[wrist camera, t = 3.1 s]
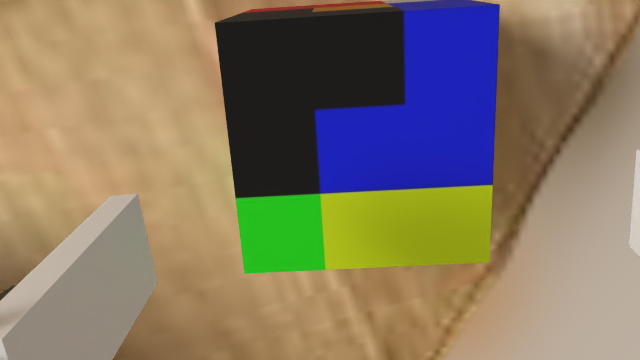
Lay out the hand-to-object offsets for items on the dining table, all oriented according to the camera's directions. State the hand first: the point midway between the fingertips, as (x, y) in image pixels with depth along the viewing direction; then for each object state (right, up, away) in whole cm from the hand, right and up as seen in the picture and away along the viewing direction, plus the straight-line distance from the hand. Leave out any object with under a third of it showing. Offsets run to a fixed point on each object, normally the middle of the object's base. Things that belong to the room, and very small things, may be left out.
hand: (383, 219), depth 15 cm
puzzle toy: (0, +6, +16) cm, 17 cm away
